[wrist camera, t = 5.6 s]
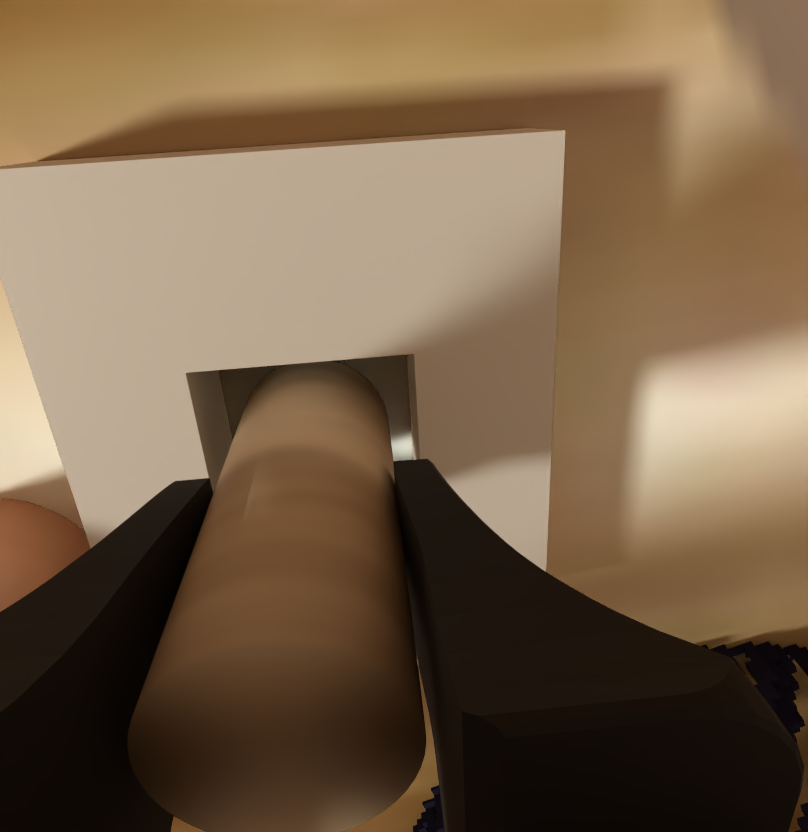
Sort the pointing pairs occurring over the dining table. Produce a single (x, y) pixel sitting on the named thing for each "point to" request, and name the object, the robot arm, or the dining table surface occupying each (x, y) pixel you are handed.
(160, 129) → the dining table surface
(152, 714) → the beech pin
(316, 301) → the hole plate
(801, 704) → the dining table surface
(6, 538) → the terracotta peg
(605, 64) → the dining table surface
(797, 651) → the decorative bowl
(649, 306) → the dining table surface
